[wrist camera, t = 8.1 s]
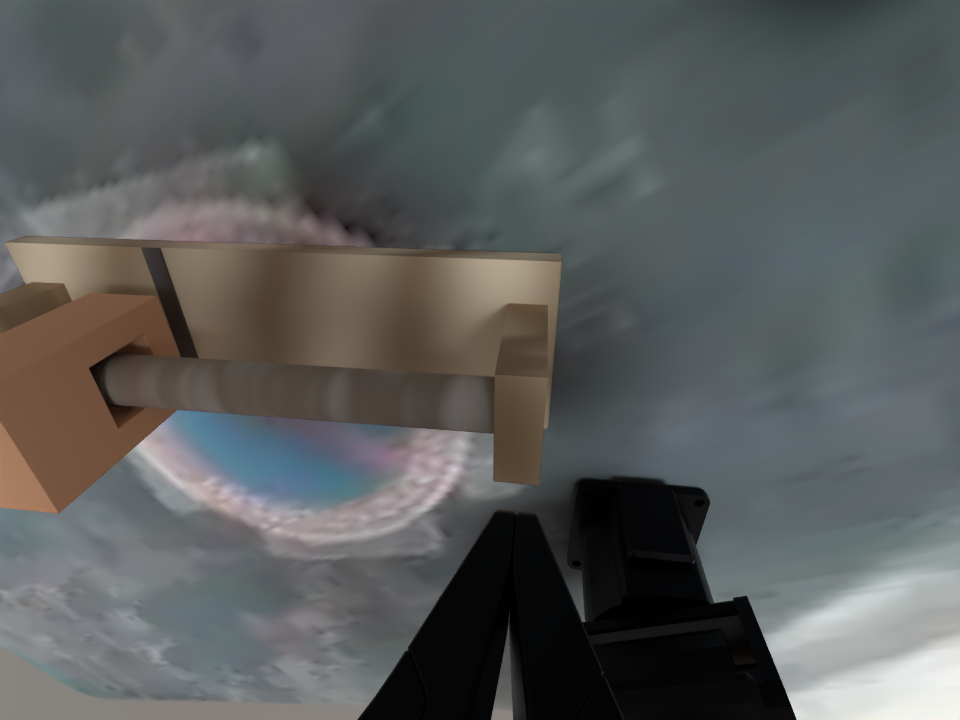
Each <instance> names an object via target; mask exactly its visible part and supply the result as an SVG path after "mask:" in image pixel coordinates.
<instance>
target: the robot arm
mask: <svg viewBox="0 0 960 720" xmlns="http://www.w3.org/2000/svg"><path fill="white" fill-rule="evenodd" d="M584 490H589V491H584ZM699 499H701V500H699ZM696 500H699V501H696ZM709 505H710V500H709V498H708V495H707V493H706V492H704V491H702V490H695V489H683V488H671V487H659V486H647V485H635V484H623V483H612V482H600V481H588V480H587V481H581V482H579V483H578V484H577V487H576V495H575V502H574V510H573V518H572V525H571V533H570V541H569V548H568V556H567V560H568V566H569V567H571V568H573V569H578V570H582V582H583V597H584V612H585V622H582V621H581V618H580V616H579V613H578V611H577V609H576V606H575V604H574V602H573V599H572V597H571V595H570V592H569V590H568V587H567V585H566V583H565V580H564V578H563V576H562V573H561V571H560V569H559V566H558V564H557V562H556V559H555V557H554V554H553V552H552V550H551V547H550V545H549V543H548V540H547V538H546V536H545V533H544V531H543V528H542V526H541V524H540V521H539V519H538V517H537V515H536V514H534V513H524V512H518V513H517V514H516V518H515V513H514V512H512V511H503V510H497V511H495V512H494V513H493V515H492V516H491V518H490V519H489V521H488V523H487V524H486V526H485V527H484V529H483V530H482V532H481V534H480V535H479V537H478V538H477V540H476V541H475V543H474V545H473V546H472V548H471V549H470V551H469V552H468V554H467V555H466V557H465V559H464V560H463V562H462V563H461V565H460V566H459V568H458V570H457V571H456V573H455V574H454V576H453V577H452V579H451V581H450V582H449V584H448V585H447V587H446V588H445V590H444V591H443V593H442V595H441V596H440V598H439V599H438V601H437V602H436V604H435V606H434V607H433V609H432V610H431V612H430V613H429V615H428V617H427V618H426V620H425V621H424V623H423V624H422V626H421V627H420V629H419V631H418V632H417V634H416V635H415V637H414V638H413V640H412V642H411V643H410V645H409V646H408V651H405V652H404V654H403V655H402V657H401V658H400V660H399V662H398V663H397V665H396V666H395V668H394V669H393V671H392V672H391V674H390V675H389V677H388V678H387V680H386V681H385V683H384V684H383V686H382V687H381V688H380V690H379V691H378V693H377V694H376V696H375V697H374V699H373V700H372V701H371V702H370V704H369V705H368V706H367V708H366V709H365V710H364V712H363V713H362V714H361V716H360V717H359V718H358V720H491V716H492V711H493V706H494V700H495V695H496V690H497V684H498V679H499V674H500V668H501V663H502V658H503V652H504V647H505V642H506V636H507V630H508V623H509V636H510V659H511V681H512V702H513V720H796V717H795V714H794V712H793V709H792V707H791V704H790V701H789V699H788V696H787V694H786V691H785V689H784V686H783V684H782V681H781V679H780V676H779V674H778V671H777V669H776V666H775V664H774V661H773V659H772V657H771V654H770V652H769V649H768V647H767V644H766V642H765V639H764V637H763V634H762V632H761V630H760V627H759V625H758V622H757V620H756V617H755V615H754V612H753V610H752V607H751V605H750V603H749V600H748V598H747V596H743V597H736V598H733V600H732V601H725V602H719V603H714V601H713V598H712V595H711V592H710V589H709V586H708V582H707V579H706V576H705V573H704V570H703V567H702V563H701V560H700V557H699V554H698V551H697V548H696V544H697V541H698V538H699V535H700V532H701V529H702V526H703V523H704V520H705V517H706V514H707V511H708V508H709ZM509 612H510V620H509Z"/></svg>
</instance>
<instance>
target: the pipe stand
mask: <svg viewBox="0 0 960 720" xmlns="http://www.w3.org/2000/svg"><path fill="white" fill-rule="evenodd" d="M5 244H6V246H7V248H8V250H9V252H10V254H11V256H12V258H13V260H14V262H15V264H16V266H17V268H18V270H19V272H20V274H21V276H22V278H23V280H24V282H25V283H26V285H23V286H21V287H18V288H15V289H13V290H10V291H8V292H5V293H2V294H0V334H1V333H4V332H6V331H8V330H10V329H12V328H14V327H17V326H19V325H21V324H23V323H25V322H28V321H30V320H32V319H34V318H36V317H39V316H41V315H43V314H45V313H47V312H50V311H52V310H54V309H56V308H58V307H61V306H63V305H65V304H67V303H69V302H72V301H74V300H76V299H78V298H80V297H83V296H85V295H87V294H89V293H102V294H124V295H145V296H157V298H158V301H159V304H160V306H161V309H162V312H163V315H164V317H165V320H166V323H167V325H168V328H169V331H170V333H171V336H172V339H173V342H174V344H175V347H176V350H177V352H178V355H179V357H167V356H151V355H135V354H130V353H124V352H114V353H112V354H111V355H109V356H107V357H106V358H104V359H103V360H101V361H99V362H98V363H96V364H94V365H93V366H91V367H90V368H89V370H90V372H91V374H92V376H93V378H94V380H95V382H96V384H97V387H98V389H99V391H100V393H101V395H102V397H103V399H104V401H105V403H106V405H107V406H117V407H122V406H134V407H148V408H161V409H174V410H188V411H201V412H214V413H227V414H241V415H254V416H267V417H281V418H294V419H307V420H321V421H334V422H347V423H361V424H374V425H387V426H400V427H414V428H427V429H440V430H454V431H467V432H480V433H494V468H493V481H495V482H507V483H518V484H530V485H539V482H540V469H541V456H542V443H543V430H544V429H548V421H549V409H550V397H551V385H552V373H553V361H554V349H555V337H556V325H557V313H558V301H559V289H560V277H561V264H562V258H561V254H556V253H525V252H494V251H464V250H433V249H403V248H372V247H342V246H311V245H280V244H250V243H219V242H189V241H158V240H128V239H97V238H66V237H36V236H25V237H22V238H18V239H15V240H11V241H8V242H5Z"/></svg>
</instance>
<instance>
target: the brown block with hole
mask: <svg viewBox="0 0 960 720" xmlns="http://www.w3.org/2000/svg"><path fill="white" fill-rule="evenodd" d="M114 352H124V353H130V354H135V355H151V356H167V357H179V355H178V352H177V350H176V347H175V344H174V342H173V339H172V336H171V333H170V331H169V328H168V325H167V323H166V320H165V317H164V315H163V312H162V309H161V306H160V304H159V301H158V298H157V296H145V295H124V294H102V293H89V294H87V295H85V296H83V297H80V298H78V299H76V300H74V301H72V302H69V303H67V304H65V305H63V306H61V307H58V308H56V309H54V310H52V311H50V312H47V313H45V314H43V315H41V316H39V317H36V318H34V319H32V320H30V321H28V322H25V323H23V324H21V325H19V326H17V327H14V328H12V329H10V330H8V331H6V332H4V333H1V334H0V507H1V508H11V509H20V510H30V511H39V512H49V513H60V512H61V511H62V510H63V509H65V508H66V507H67V506H68V505H69V504H70V503H71V502H73V501H74V500H75V499H76V498H77V497H78V496H79V495H81V494H82V493H83V492H84V491H85V490H86V489H87V488H89V487H90V486H91V485H92V484H93V483H94V482H95V481H97V480H98V479H99V478H100V477H101V476H102V475H103V474H105V473H106V472H107V471H108V470H109V469H110V468H111V467H113V466H114V465H115V464H116V463H117V462H118V461H119V460H121V459H122V458H123V457H124V456H125V455H126V454H127V453H129V452H130V451H131V450H132V449H133V448H134V447H135V446H137V445H138V444H139V443H140V442H141V441H142V440H143V439H144V438H146V437H147V436H148V435H149V434H150V433H151V432H152V431H154V430H155V429H156V428H157V427H158V426H159V425H160V424H162V423H163V422H164V421H165V420H166V419H167V418H168V417H170V416H171V415H172V414H173V413H174V412H175V411H176V410H174V409H161V408H148V407H134V406H122V407H117V406H107V405H106V403H105V401H104V399H103V397H102V395H101V393H100V391H99V389H98V387H97V384H96V382H95V380H94V378H93V376H92V374H91V372H90V370H89V368H90V367H91V366H93V365H94V364H96V363H98V362H99V361H101V360H103V359H104V358H106V357H107V356H109V355H111V354H112V353H114Z"/></svg>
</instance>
